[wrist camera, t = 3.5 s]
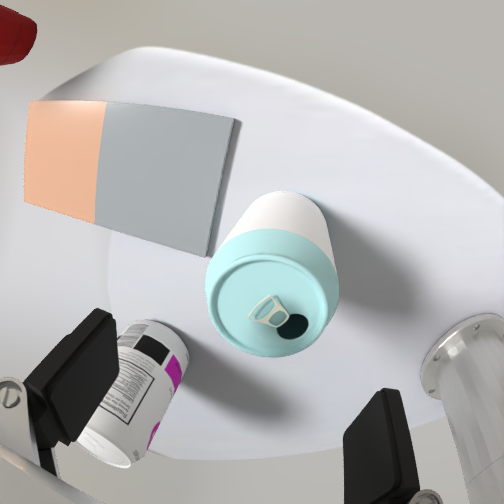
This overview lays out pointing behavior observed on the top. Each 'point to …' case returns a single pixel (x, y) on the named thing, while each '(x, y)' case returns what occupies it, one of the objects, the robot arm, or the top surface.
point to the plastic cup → (15, 36)
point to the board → (128, 168)
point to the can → (274, 277)
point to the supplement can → (136, 394)
